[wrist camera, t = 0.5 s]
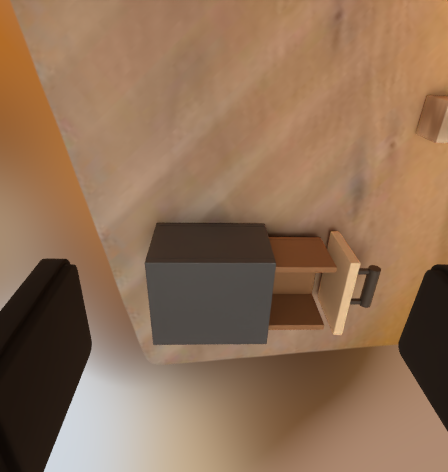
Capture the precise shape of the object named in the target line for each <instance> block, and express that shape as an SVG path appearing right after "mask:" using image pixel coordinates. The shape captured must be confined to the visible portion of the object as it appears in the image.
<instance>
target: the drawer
mask: <svg viewBox="0 0 448 472" xmlns="http://www.w3.org/2000/svg"><path fill="white" fill-rule="evenodd" d="M269 240H270V244H271V247H272V251H273V254H274V257H275V261H276V269H275V278H274V286H273V294H272V303H271V311H270V320H269V328H268V330H311V329H323V328H324V323H323V321H322V318H321V316H320V313H319V311H318V308H317V306H316V303H315V301H314V298H313V296H312V289H313V284H314V279H315V273H322V277H321V282H320V287H319V292H318V299H319V302H320V304H321V307H322V309H323V311H324V314H325V316H326V319H327V321H328V323H329V326H330V328H331V331H332V333H333V335H342V332H343V328H344V324H345V320H346V317H347V313H348V309H349V305H350V304H360V306H362V307H365V308H368V307H370V305H371V302H372V298H373V295H374V292H375V288H376V285H377V282H378V279H379V275H380V272H381V269H380V268H379V267H378V266H375V265H371V266H369V268H359V267H360V262H359V260H358V259H357V257H356V256H355V254H354V253H353V251H352V250H351V248H350V247H349V245H348V244H347V242H346V241H345V239H344V238H343V237H342V235H341V234H340V232H339V231H331V233H330V238H329V243H328V247H327V248H326V247H325V245H324V243H323V241H322V240H321V238H320V237H269ZM358 274H367V275H366V279H365V282H364V286H363V289H362V293H361V296H360V299H351V298H352V294H353V290H354V286H355V282H356V279H357V275H358Z"/></svg>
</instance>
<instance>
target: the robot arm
mask: <svg viewBox="0 0 448 472" xmlns="http://www.w3.org/2000/svg"><path fill="white" fill-rule="evenodd" d="M91 346H92V341H91V335H90V330H89V325H88V320H87V315H86V310H85V306H84V300H83V295H82V290H81V285H80V280H79V275H78V270H77V267H76V265H70V262H69V261H68V260H67V259H42V260H41V261H40V262H39V263H38V265H37V266H36V267H35V268H34V270H33V271H32V272H31V274H30V275H29V276H28V277H27V278H26V280H25V281H24V282H23V283H22V285H21V286H20V287H19V289H18V290H17V291H16V292H15V293H14V295H13V296H12V297H11V299H10V300H9V301H8V302H7V303H6V305H5V306H4V307H3V308H2V310H1V311H0V472H44V469H45V467H46V464H47V461H48V459H49V457H50V454H51V452H52V449H53V446H54V444H55V441H56V439H57V436H58V434H59V431H60V429H61V426H62V424H63V421H64V419H65V416H66V413H67V411H68V408H69V406H70V403H71V401H72V398H73V396H74V393H75V391H76V388H77V386H78V383H79V381H80V378H81V375H82V373H83V371H84V368H85V365H86V363H87V360H88V358H89V355H90V352H91ZM399 352H400V354H401V356H402V358H403V359H404V361H405V363H406V364H407V366H408V367H409V369H410V371H411V372H412V374H413V376H414V377H415V379H416V381H417V382H418V384H419V385H420V387H421V389H422V390H423V392H424V394H425V395H426V397H427V399H428V400H429V402H430V403H431V405H432V407H433V408H434V410H435V412H436V413H437V415H438V416H439V418H440V420H441V421H442V423H443V425H444V426H445V428H446V429H447V431H448V265H441V264H437V265H434V266H433V267H432V268H431V270H428V271H427V272H426V273H425V275H424V278H423V280H422V283H421V285H420V288H419V291H418V293H417V296H416V298H415V301H414V304H413V306H412V309H411V311H410V314H409V317H408V319H407V322H406V324H405V327H404V330H403V332H402V335H401V337H400V340H399Z"/></svg>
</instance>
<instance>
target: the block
mask: <svg viewBox="0 0 448 472" xmlns="http://www.w3.org/2000/svg"><path fill="white" fill-rule="evenodd" d="M416 134H417V135H420V136H422V137H424V138H426V139H429V140H431V141H433V142H435V143H448V96H436V95H427V97H426V100H425V104H424V107H423V110H422V114H421V117H420V121H419V124H418V127H417V131H416Z"/></svg>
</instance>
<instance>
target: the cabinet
mask: <svg viewBox="0 0 448 472" xmlns="http://www.w3.org/2000/svg"><path fill="white" fill-rule="evenodd" d="M275 269H276V261H275V257H274V254H273V251H272V247H271V244H270V240H269V237H268V234H267V230H266V227H265V224H225V223H157V224H156V227H155V230H154V234H153V237H152V240H151V244H150V247H149V250H148V254H147V257H146V261H145V270H146V279H147V289H148V298H149V308H150V317H151V327H152V337H153V345H186V344H267V336H268V328H269V320H270V311H271V303H272V294H273V286H274V278H275Z"/></svg>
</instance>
